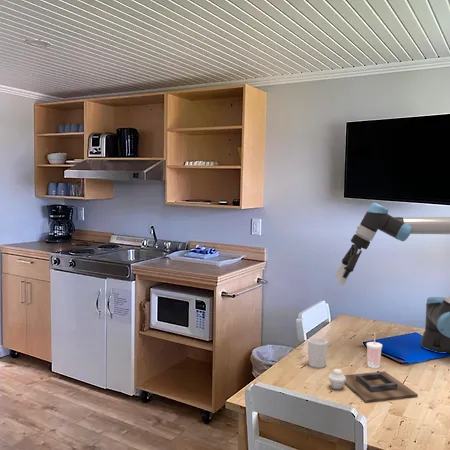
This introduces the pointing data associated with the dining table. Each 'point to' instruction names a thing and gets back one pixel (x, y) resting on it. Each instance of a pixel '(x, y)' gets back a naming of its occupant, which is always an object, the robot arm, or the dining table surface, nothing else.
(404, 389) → the cup holder
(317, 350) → the white cup
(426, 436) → the dining table surface
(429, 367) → the dining table surface
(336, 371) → the white lidded jar
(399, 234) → the robot arm
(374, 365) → the beverage cup
